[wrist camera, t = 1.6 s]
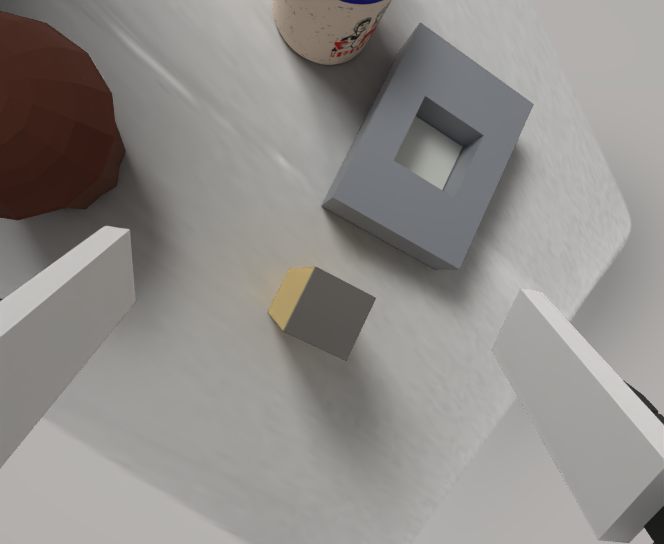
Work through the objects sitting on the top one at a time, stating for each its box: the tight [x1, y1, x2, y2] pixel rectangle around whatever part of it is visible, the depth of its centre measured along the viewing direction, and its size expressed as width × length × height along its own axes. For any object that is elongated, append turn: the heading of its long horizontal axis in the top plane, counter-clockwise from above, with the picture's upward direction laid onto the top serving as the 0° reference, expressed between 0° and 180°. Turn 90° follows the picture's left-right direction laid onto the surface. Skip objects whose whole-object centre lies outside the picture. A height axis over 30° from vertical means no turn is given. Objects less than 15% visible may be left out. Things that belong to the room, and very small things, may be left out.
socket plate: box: [321, 23, 534, 270], centre depth 33 cm, size 12×16×4 cm
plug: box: [268, 267, 376, 361], centre depth 27 cm, size 4×4×11 cm
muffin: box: [0, 11, 125, 220], centre depth 23 cm, size 12×11×10 cm
